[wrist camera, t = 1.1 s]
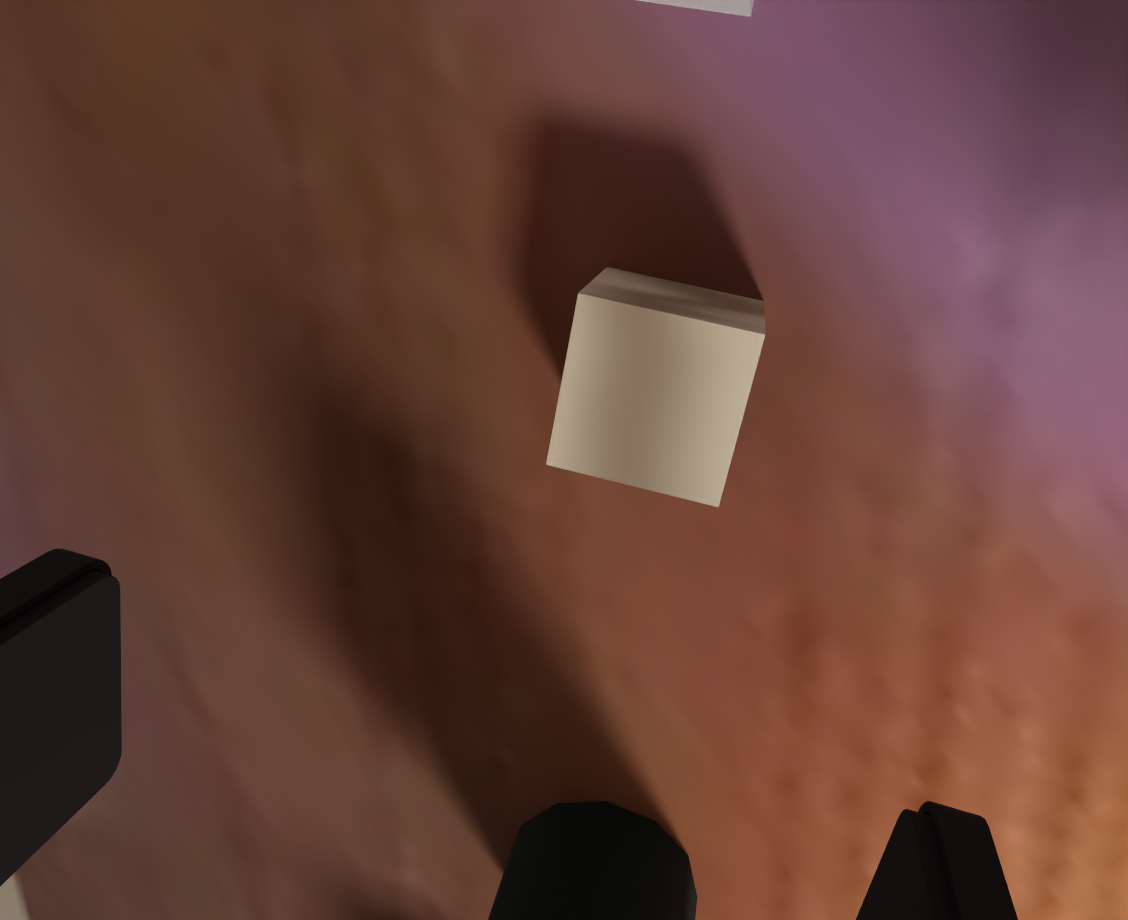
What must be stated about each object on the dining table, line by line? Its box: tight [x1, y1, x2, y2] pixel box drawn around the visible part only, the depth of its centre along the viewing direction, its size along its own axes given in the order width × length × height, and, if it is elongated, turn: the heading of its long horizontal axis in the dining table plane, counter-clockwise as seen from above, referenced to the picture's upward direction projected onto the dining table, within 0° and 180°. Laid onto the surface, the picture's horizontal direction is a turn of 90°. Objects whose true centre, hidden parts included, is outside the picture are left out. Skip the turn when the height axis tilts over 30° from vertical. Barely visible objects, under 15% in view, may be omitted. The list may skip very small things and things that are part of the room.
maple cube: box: [546, 267, 765, 507], centre depth 27 cm, size 5×5×5 cm
